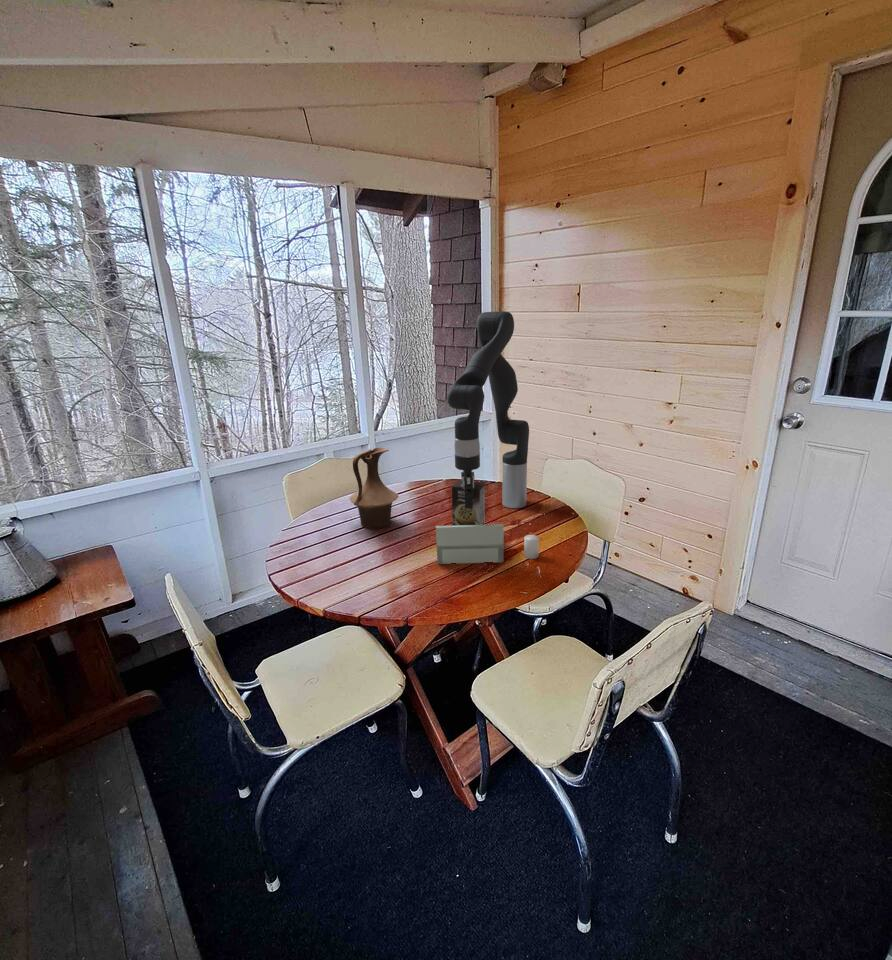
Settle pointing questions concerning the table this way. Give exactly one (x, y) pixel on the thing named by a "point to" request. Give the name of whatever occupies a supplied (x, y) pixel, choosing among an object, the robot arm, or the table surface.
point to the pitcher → (372, 492)
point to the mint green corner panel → (470, 543)
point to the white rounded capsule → (531, 546)
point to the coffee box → (468, 514)
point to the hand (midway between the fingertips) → (468, 502)
